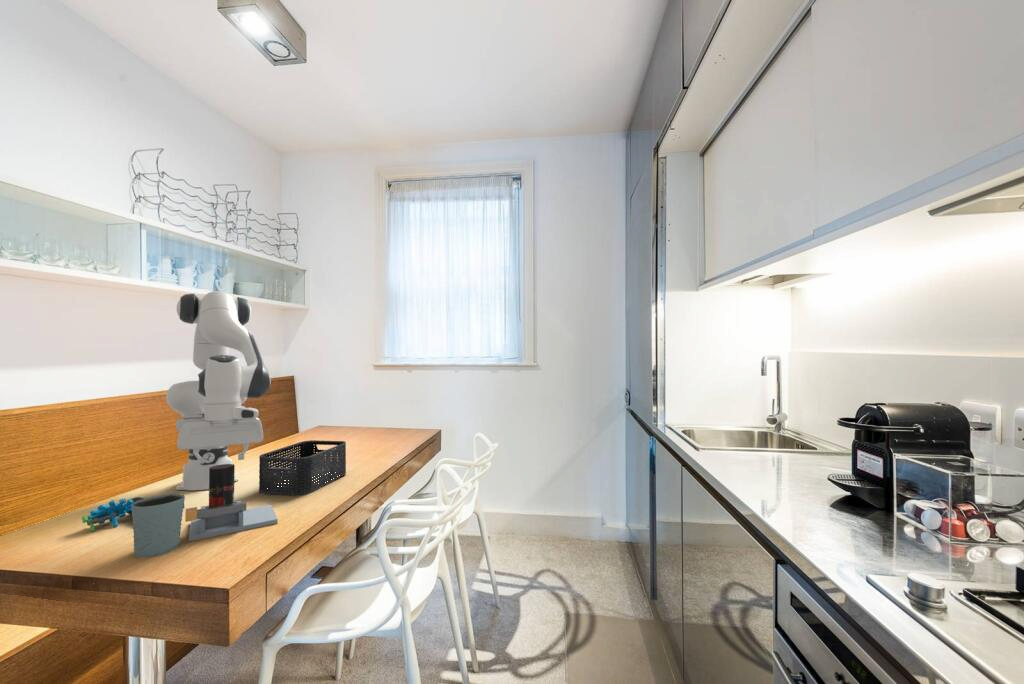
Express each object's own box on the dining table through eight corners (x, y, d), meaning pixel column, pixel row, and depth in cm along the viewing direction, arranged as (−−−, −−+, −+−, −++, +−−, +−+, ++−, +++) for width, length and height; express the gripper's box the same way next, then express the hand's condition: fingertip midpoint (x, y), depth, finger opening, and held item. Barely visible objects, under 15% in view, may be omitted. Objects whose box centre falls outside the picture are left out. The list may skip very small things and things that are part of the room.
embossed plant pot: (122, 562, 99) (123, 509, 100) (139, 545, 108) (140, 496, 109) (176, 553, 103) (177, 502, 104) (188, 537, 112) (189, 491, 113)
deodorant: (206, 520, 121) (207, 466, 122) (231, 515, 125) (232, 462, 126) (210, 526, 117) (211, 470, 118) (235, 520, 121) (236, 466, 122)
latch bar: (185, 518, 113) (185, 508, 113) (245, 508, 120) (245, 498, 121) (185, 521, 111) (185, 511, 111) (246, 510, 118) (246, 501, 118)
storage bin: (304, 496, 146) (304, 456, 147) (253, 494, 149) (254, 455, 150) (349, 474, 174) (349, 440, 175) (305, 472, 177) (306, 440, 178)
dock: (191, 523, 122) (191, 506, 123) (271, 508, 134) (271, 493, 134) (189, 541, 110) (189, 522, 110) (277, 523, 122) (277, 506, 122)
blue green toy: (134, 510, 129) (134, 492, 124) (138, 527, 127) (139, 509, 122) (82, 526, 121) (80, 507, 116) (86, 544, 118) (84, 526, 113)
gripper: (175, 417, 114) (174, 469, 114) (264, 411, 126) (263, 459, 125) (177, 414, 119) (175, 464, 119) (262, 408, 131) (261, 454, 130)
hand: (221, 461), depth 122 cm, fingers open, 8 cm apart
